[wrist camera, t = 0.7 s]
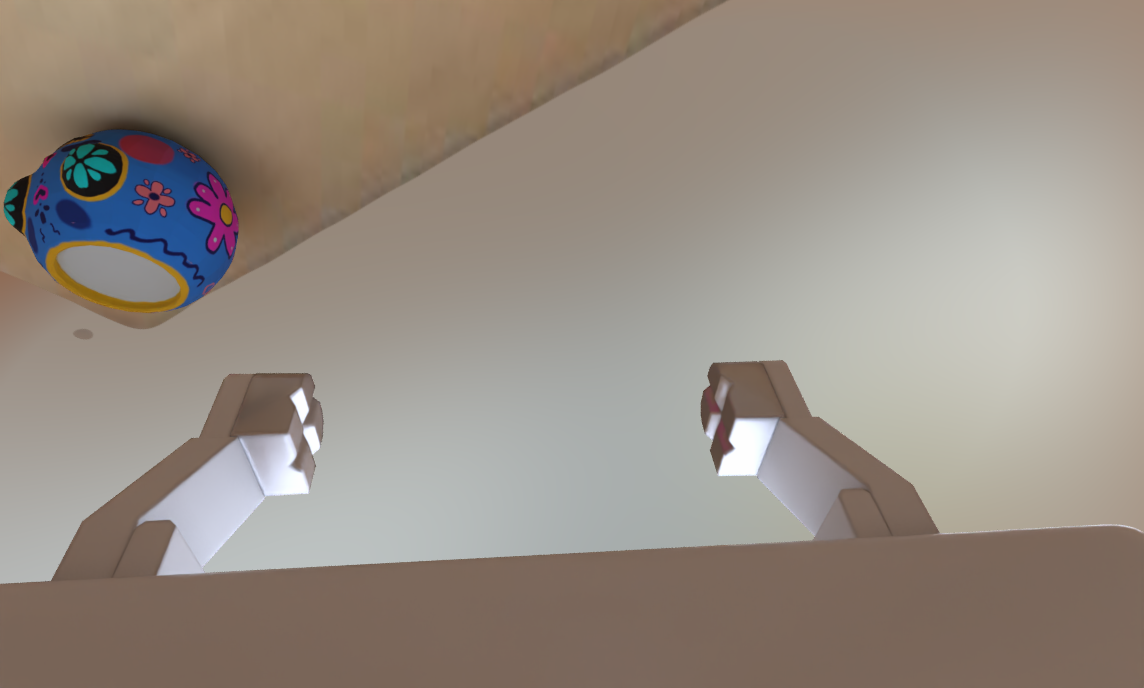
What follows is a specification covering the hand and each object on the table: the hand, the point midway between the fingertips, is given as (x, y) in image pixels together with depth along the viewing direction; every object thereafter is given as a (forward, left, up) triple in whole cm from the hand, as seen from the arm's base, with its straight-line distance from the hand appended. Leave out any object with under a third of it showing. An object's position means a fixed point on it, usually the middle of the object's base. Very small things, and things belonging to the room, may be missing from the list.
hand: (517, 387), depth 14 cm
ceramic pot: (+55, -1, -48) cm, 73 cm away
